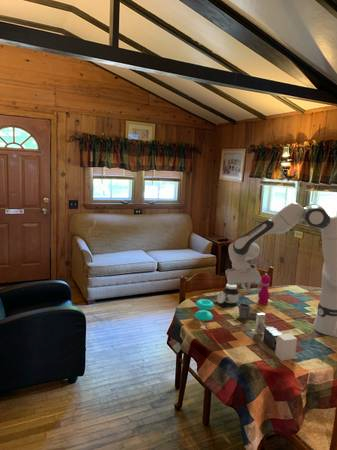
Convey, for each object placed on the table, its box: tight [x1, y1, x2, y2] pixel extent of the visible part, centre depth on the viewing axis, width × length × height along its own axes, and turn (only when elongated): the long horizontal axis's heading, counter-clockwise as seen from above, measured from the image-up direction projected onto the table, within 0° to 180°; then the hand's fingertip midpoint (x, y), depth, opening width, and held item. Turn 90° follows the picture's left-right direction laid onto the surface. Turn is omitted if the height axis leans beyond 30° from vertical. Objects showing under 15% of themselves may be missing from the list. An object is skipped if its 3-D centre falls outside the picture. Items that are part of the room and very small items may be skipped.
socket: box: [275, 333, 298, 362], centre depth 158 cm, size 7×5×10 cm
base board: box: [245, 330, 300, 362], centre depth 170 cm, size 13×28×1 cm, turn 18°
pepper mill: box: [257, 272, 271, 305], centre depth 222 cm, size 7×7×20 cm
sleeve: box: [263, 326, 283, 350], centre depth 168 cm, size 5×8×8 cm, turn 18°
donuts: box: [194, 298, 215, 322], centre depth 195 cm, size 10×10×10 cm
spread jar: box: [216, 283, 240, 306], centre depth 219 cm, size 12×11×12 cm
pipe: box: [237, 303, 258, 320], centre depth 198 cm, size 6×13×8 cm, turn 78°
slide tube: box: [254, 312, 277, 343], centre depth 171 cm, size 4×18×10 cm, turn 17°
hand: (247, 291), depth 190 cm, fingers closed
